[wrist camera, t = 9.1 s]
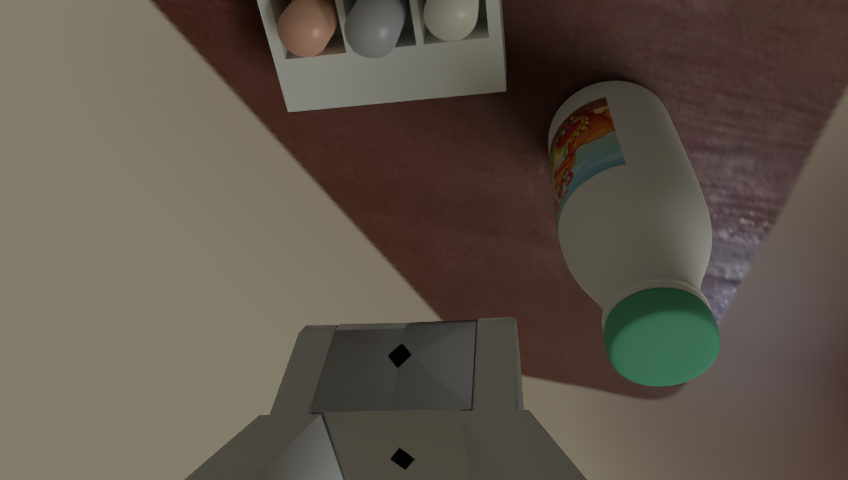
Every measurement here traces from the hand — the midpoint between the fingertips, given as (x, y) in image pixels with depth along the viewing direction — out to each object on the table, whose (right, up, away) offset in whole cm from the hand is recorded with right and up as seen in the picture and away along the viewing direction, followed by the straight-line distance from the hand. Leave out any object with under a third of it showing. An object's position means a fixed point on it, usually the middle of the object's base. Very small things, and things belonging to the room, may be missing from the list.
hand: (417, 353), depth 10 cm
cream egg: (+2, +16, +29) cm, 33 cm away
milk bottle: (+12, +9, +35) cm, 38 cm away
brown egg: (-6, +15, +30) cm, 35 cm away
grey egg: (-2, +15, +29) cm, 32 cm away
